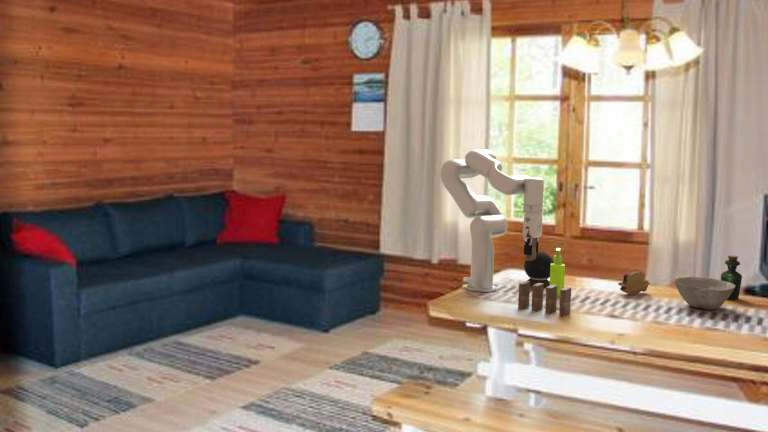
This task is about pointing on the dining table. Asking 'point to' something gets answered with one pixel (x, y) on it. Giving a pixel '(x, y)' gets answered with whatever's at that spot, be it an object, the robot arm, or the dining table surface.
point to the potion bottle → (732, 276)
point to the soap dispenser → (557, 272)
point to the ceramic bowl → (704, 291)
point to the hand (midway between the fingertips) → (530, 253)
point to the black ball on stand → (539, 269)
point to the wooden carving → (634, 283)
